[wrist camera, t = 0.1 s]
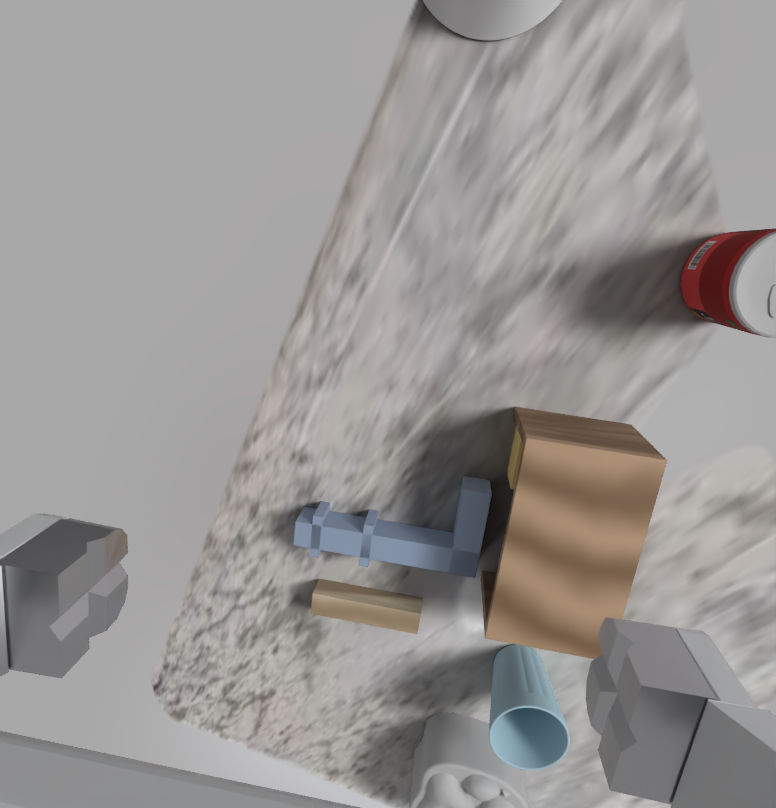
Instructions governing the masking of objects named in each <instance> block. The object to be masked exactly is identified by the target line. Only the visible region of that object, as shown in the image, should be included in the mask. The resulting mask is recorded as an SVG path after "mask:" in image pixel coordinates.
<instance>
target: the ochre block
mask: <svg viewBox="0 0 776 808" xmlns="http://www.w3.org/2000/svg"><path fill="white" fill-rule="evenodd" d="M522 449H523V443H522V440H521V437H520V434H519V431H518V428H517V426H516V430H515V435H514V440H513V445H512V450H511V455H510V460H509V465H508V470H507V475H508V479H509V484H510V488H511V489H513V490H514V488H515V483H516V478H517V473H518V468H519V464H520V459H521V454H522Z"/></svg>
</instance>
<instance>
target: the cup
mask: <svg viewBox="0 0 776 808" xmlns="http://www.w3.org/2000/svg"><path fill="white" fill-rule="evenodd" d="M489 742H490V745H491V748H492V750H493V751H494V753H495V754H496V755H497V757H498V758H499V759H501V760H502V761H503V762H505V763H506V764H508V765H510V766H512V767H515V768H518V769H522V770H541V769H545V768H548V767H551V766H553V765H554V764H556V763H557V762H559V761H560V760H561V759H562V758H563V757H564V756H565V754H566V752H567V750H568V748H569V743H570V736H569V731H568V728H567V726H566V723H565V720H564V718H563V715H562V713H561V710H560V707H559V705H558V702H557V699H556V697H555V694H554V691H553V689H552V686H551V683H550V681H549V678H548V675H547V672H546V670H545V667H544V664H543V662H542V659H541V657H540V656H539V654H538V653H537V652H536V651H535V650H534V649H532V648H530V647H528V646H523V645H517V644H513V645H509V646H506V647H504V648H503V649H501V650H500V651H499V652H498V653H497V655H496V657H495V660H494V664H493V678H492V694H491V710H490V724H489Z"/></svg>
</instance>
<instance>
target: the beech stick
mask: <svg viewBox="0 0 776 808" xmlns="http://www.w3.org/2000/svg"><path fill="white" fill-rule="evenodd" d="M421 606H422V598H420V597H414V596H409V595H404V594H398V593H393V592H388V591H382V590H377V589H372V588H366V587H361V586H356V585H350V584H345V583H340V582H334V581H329V580H324V579H319V580H318V582H317V584H316V587H315V589H314V592H313V595H312V604H311V613H310V614H316V615H321V616H326V617H331V618H336V619H342V620H347V621H352V622H357V623H362V624H367V625H373V626H378V627H383V628H388V629H393V630H399V631H404V632H409V633H414V634H417V632H418V626H419V621H420V615H421Z"/></svg>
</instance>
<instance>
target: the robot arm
mask: <svg viewBox="0 0 776 808" xmlns="http://www.w3.org/2000/svg"><path fill="white" fill-rule="evenodd" d="M561 1H562V0H423V2H424V4H425V5H426V7H427V8H428V9H429V11H430V12H431V13H432V14H433V16H434V17H435V18H436V19H437V20H438V21H440V22H441V23H442V24H443V25H445V26H446V27H447V28H449V29H450V30H452V31H454V32H456V33H458V34H460V35H463V36H465V37H468V38H472V39H478V40H500V39H506V38H510V37H513V36H516V35H519V34H521V33H523V32H525V31H527V30H529V29H531V28H533V27H534V26H536V25H537V24H539V23H540V22H541V21H543V20H544V19H545V18H546V17H547V16H549V15H550V14H551V13H552V12H553V11H554V10H555V8H556V7H557V6H558V5H559V4H560V3H561ZM127 553H128V542H127V535H126V534H125V532H124V531H123V530H122V529H120V528H115V527H110V526H105V525H100V524H95V523H90V522H85V521H80V520H75V519H67V518H66V517H61V516H55V515H48V514H33V515H31V516H29V517H28V518H26V519H24V520H23V521H21V522H20V523H18V524H16V525H15V526H13V527H11V528H10V529H8V530H6V531H5V532H3V533H2V534H0V676H2V675H4V674H6V673H8V672H9V669H10V670H16V671H22V672H28V673H34V674H39V675H45V676H52V677H57V678H62V677H63V676H64V675H65V674H66V673H67V672H68V671H69V670H70V669H71V668H72V667H73V666H74V665H75V664H76V663H77V661H78V660H79V659H80V658H81V657H82V656H83V655H84V654H85V653H86V652H87V651H88V650H89V638H90V637H92V636H95V635H97V634H100V633H102V632H104V631H106V630H107V629H108V628H109V627H110V626H111V624H112V623H113V622H114V621H115V620H116V619H117V617H118V615H119V613H120V611H121V609H122V606H123V604H124V603H125V598H126V594H127V589H128V575H127V574H126V572H125V570H124V569H123V567H122V566H121V564H120V563H119V562H120V561H121V560H122V559H123V558H124V557H125V555H126V554H127ZM597 639H598V642H599V645H600V648H601V651H602V654H601V655H600V656H598V657H597V658H596V659H594V660H593V661H592V662H591V664H590V669H589V673H588V677H587V687H586V703H587V711H588V715H589V719H590V723H591V726H592V727H593V728H594V729H595V730H596V731H597V732H598V733H599V734H600V735H601V736H602V738H601V742H600V745H599V749H598V751H599V755H600V758H601V762H602V765H603V768H604V772H605V775H606V779H607V782H608V786H609V789H610V790H611V791H616V792H620V793H624V794H629V795H633V796H637V797H641V798H646V799H650V800H654V801H659V802H663V803H667V804H671V808H776V715H775V714H773V713H772V712H771V711H769V710H764V709H759V708H757V706H756V705H755V703H754V702H753V700H752V699H751V697H750V696H749V694H748V693H747V691H746V690H745V688H744V687H743V685H742V684H741V682H740V681H739V679H738V678H737V676H736V675H735V673H734V672H733V670H732V669H731V667H730V666H729V664H728V663H727V661H726V660H725V658H724V657H723V655H722V654H721V652H720V651H719V649H718V648H717V646H716V645H715V643H714V642H713V640H712V639H711V637H710V636H709V635H707V634H706V633H704V632H703V631H696V630H689V629H682V628H675V627H666V626H660V625H653V624H647V623H640V622H634V621H628V620H621V619H615V618H608V617H606V618H605V619H604V621H603V623H602V625H601V628H600V631H599V635H598V638H597ZM0 808H360V807H355V806H350V805H346V804H341V803H336V802H331V801H327V800H322V799H317V798H312V797H308V796H303V795H298V794H294V793H289V792H284V791H279V790H275V789H270V788H265V787H260V786H256V785H250V784H246V783H242V782H237V781H232V780H227V779H223V778H218V777H213V776H209V775H204V774H199V773H195V772H190V771H185V770H180V769H176V768H171V767H166V766H162V765H157V764H153V763H148V762H143V761H138V760H134V759H129V758H124V757H120V756H115V755H110V754H106V753H101V752H96V751H91V750H87V749H82V748H78V747H73V746H68V745H64V744H59V743H54V742H50V741H45V740H40V739H35V738H31V737H26V736H22V735H17V734H12V733H7V732H3V731H0Z"/></svg>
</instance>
